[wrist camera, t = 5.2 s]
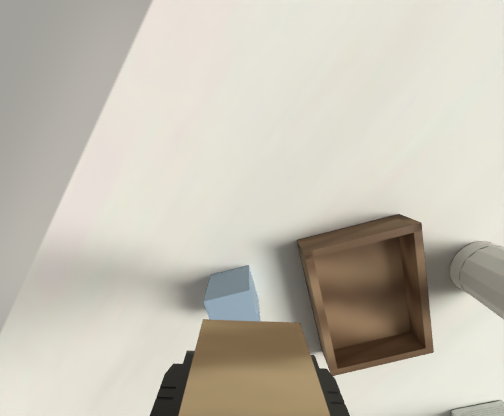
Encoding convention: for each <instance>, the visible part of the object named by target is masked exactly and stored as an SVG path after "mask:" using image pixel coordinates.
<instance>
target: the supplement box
mask: <svg viewBox="0 0 504 416" xmlns="http://www.w3.org/2000/svg"><path fill="white" fill-rule="evenodd" d="M451 413H452V416H504V402H503V401H497V402H491V403H486V404H480V405H475V406H470V407H465V408H459V409H455V410H452V412H451Z"/></svg>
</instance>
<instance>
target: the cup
mask: <svg viewBox="0 0 504 416" xmlns="http://www.w3.org/2000/svg"><path fill="white" fill-rule="evenodd" d="M450 277H451V280H452V282H453V283H454V284H455V285H456V286H457V287H459V288H460V289H462V290H463V291H465V292H467V293H468V294H470V295H471V296H473V297H474V298H475V299H477V300H478V301H479V302H481V303H482V304H483V305H485V306H486V307H488V308H489V309H490V310H492V311H493V312H494V313H496V314H497V315H499V316H500V317H501V318H503V319H504V247H502V246H499V245H496V244H494V243H491V242H487V241H478V242H474V243H471V244H469V245H467V246H465V247H464V248H462V249H461V250H460V251H459V252H458V253H457V254H456V255H455V257H454V258H453V260H452V263H451V266H450Z"/></svg>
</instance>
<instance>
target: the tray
mask: <svg viewBox="0 0 504 416" xmlns="http://www.w3.org/2000/svg"><path fill="white" fill-rule="evenodd" d="M297 244H298V248H299V252H300V257H301V261H302V265H303V270H304V274H305V278H306V283H307V287H308V291H309V296H310V300H311V304H312V309H313V313H314V317H315V322H316V326H317V330H318V335H319V339H320V343H321V348H322V352H323V355H324V357H325V360H326V362H327V365H328V368H329V370H330V373H331V375H332V376H335V375H339V374H344V373H348V372H352V371H356V370H361V369H365V368H369V367H373V366H378V365H382V364H386V363H391V362H395V361H399V360H403V359H408V358H412V357H416V356H420V355H425V354H429V353H433V352H434V351H433V340H432V330H431V319H430V309H429V298H428V287H427V277H426V266H425V256H424V245H423V235H422V224H421V222H418V221H416V220H413V219H411V218H408V217H406V216H403V215H401V214H398V215H394V216H390V217H386V218H382V219H378V220H374V221H370V222H366V223H363V224H359V225H355V226H351V227H347V228H343V229H339V230H335V231H331V232H327V233H323V234H319V235H315V236H311V237H308V238H304V239H300V240H297Z"/></svg>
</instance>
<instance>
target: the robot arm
mask: <svg viewBox="0 0 504 416" xmlns="http://www.w3.org/2000/svg"><path fill="white" fill-rule="evenodd" d="M194 353H195V351H187V352H186V355H185V359H184V362H183V364H173V365H172V366H171V367H170V369H169V370H168V371H167V372H166V373H165V375H164V378H163V381H162V384H161V386H160V389H159V392H158V395H157V398H156V400H155V403H154V406H153V408H152V411H151V414H150V416H179V412H180V408H181V404H182V400H183V396H184V392H185V388H186V384H187V380H188V376H189V372H190V368H191V365H192V361H193V357H194ZM311 358H312V361H313V364H314V367H315V370H316V373H317V376H318V380H319V383H320V386H321V389H322V392H323V395H324V398H325V401H326V404H327V407H328V410H329V413H330V416H350V415H349V413H348V410H347V408H346V405H345V404H344V400H343V398H342V395H341V394H340V390H339V388H338V385H337V383H336V380H335V379H334V377H333V376H332V375H331V374H330V372H329V371H328V370H327V369H320V368H319V366H318V363H317V361H316V358H315V356H314V355H311Z"/></svg>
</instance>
